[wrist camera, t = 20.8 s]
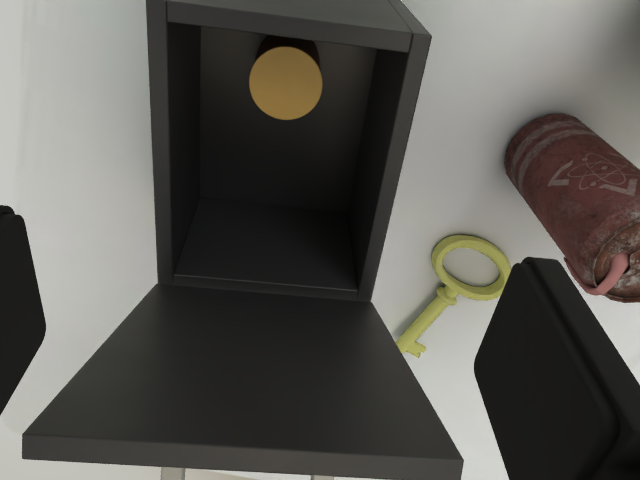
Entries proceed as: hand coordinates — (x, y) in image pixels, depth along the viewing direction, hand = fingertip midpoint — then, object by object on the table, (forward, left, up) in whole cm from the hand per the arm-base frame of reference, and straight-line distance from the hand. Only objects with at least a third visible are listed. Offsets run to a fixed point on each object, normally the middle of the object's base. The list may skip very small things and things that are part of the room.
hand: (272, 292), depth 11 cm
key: (+20, +15, -28) cm, 37 cm away
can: (+7, +19, -28) cm, 34 cm away
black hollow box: (+6, 0, -28) cm, 28 cm away
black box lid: (+10, 0, -9) cm, 14 cm away
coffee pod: (+2, 0, -27) cm, 27 cm away
